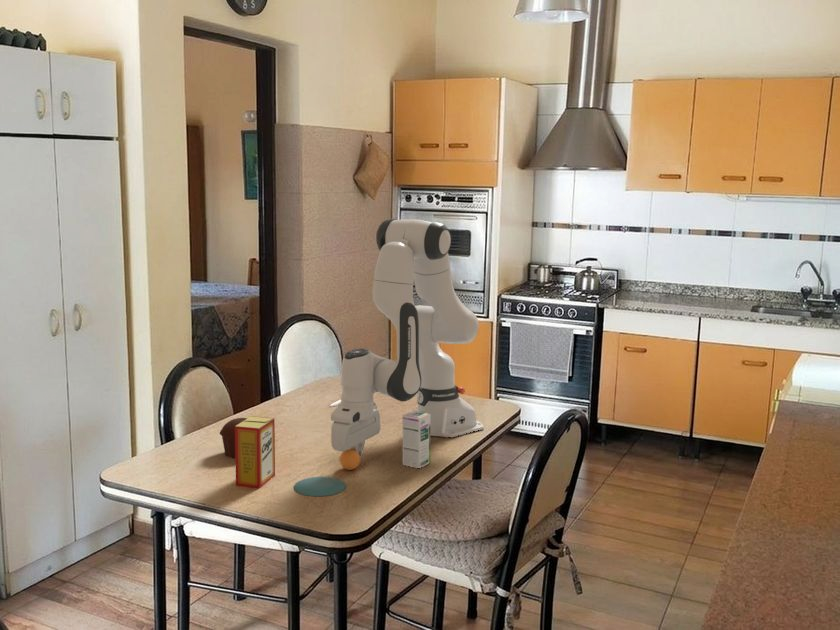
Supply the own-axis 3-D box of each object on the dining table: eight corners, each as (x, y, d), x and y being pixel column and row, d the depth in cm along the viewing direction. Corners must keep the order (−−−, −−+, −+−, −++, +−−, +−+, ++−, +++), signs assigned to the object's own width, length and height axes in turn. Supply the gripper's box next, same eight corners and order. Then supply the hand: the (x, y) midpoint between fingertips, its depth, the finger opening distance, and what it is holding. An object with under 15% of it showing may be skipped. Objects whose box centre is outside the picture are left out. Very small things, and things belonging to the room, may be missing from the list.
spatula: (337, 409, 281) (337, 401, 280) (327, 407, 283) (327, 399, 282) (380, 391, 305) (380, 384, 305) (370, 390, 307) (370, 382, 307)
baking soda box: (259, 488, 207) (258, 427, 205) (235, 485, 209) (234, 424, 206) (275, 475, 217) (274, 416, 214) (252, 473, 218) (251, 414, 215)
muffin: (248, 444, 241) (247, 411, 239) (269, 454, 233) (269, 420, 232) (212, 453, 233) (211, 419, 231) (233, 463, 225) (232, 428, 223)
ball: (356, 453, 226) (350, 441, 223) (366, 465, 222) (360, 453, 219) (339, 465, 225) (333, 452, 221) (349, 477, 221) (343, 465, 217)
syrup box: (419, 469, 223) (420, 417, 221) (401, 465, 226) (402, 414, 224) (430, 463, 228) (431, 412, 225) (412, 459, 231) (413, 409, 228)
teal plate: (333, 474, 218) (333, 473, 218) (354, 490, 207) (354, 490, 207) (286, 482, 212) (286, 481, 212) (305, 499, 200) (305, 499, 200)
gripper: (366, 398, 234) (366, 445, 236) (327, 416, 216) (327, 466, 218) (386, 401, 231) (385, 449, 233) (347, 419, 213) (347, 470, 215)
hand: (356, 457), depth 226 cm, fingers closed
